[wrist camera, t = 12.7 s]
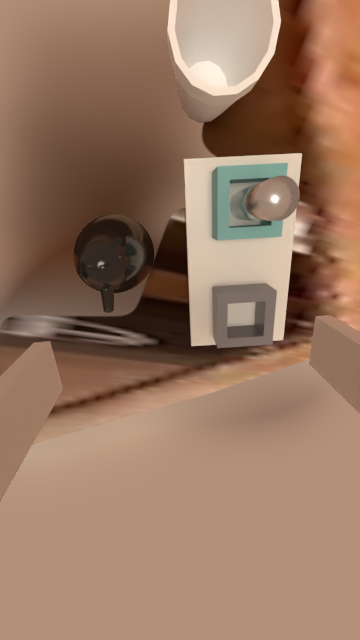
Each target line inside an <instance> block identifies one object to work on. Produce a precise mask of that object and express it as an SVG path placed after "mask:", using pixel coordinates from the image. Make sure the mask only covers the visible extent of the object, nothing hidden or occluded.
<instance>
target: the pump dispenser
mask: <svg viewBox="0 0 360 640" xmlns="http://www.w3.org/2000/svg"><path fill="white" fill-rule="evenodd" d="M153 260H154V248H153V243H152V240H151V238H150V236H149V234H148V232H147V231H146V230H145V228H144V227H143V226H142V225H141V224H140V223H139V222H137V221H136V220H134V219H132V218H130V217H128V216H125V215H121V214H106V215H102V216H99V217H97V218H95V219H94V220H92V221H91V222H89V223H88V224H87V225H86V226H85V227H84V228H83V229H82V231H81V232H80V233H79V235H78V237H77V239H76V243H75V247H74V251H73V261H74V266H75V269H76V271H77V273H78V275H79V277H80V278H81V279H82V280H83V281H84V282H85V283H86V284H87V285H88V286H90V287H92V288H93V289H96V290H98V291H101V295H102V302H103V309H104V311H105V312H112V311H113V307H114V306H113V303H114V293H120V292H124V291H127V290H130V289H132V288H133V287H135V286H137V285H138V284H139V283H141V281H143V280H144V279H145V278H146V276H147V275H148V273H149V272H150V270H151V267H152V264H153Z"/></svg>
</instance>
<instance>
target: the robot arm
mask: <svg viewBox="0 0 360 640" xmlns="http://www.w3.org/2000/svg"><path fill="white" fill-rule="evenodd" d="M310 365H311V366H312V367H313V368H314V369H315V370H316V371H317V372H318V373H319V374H320V375H321V376H322V377H323V378H324V379H325V380H326V381H327V382H328V383H329V384H330V385H331V386H332V387H333V388H334V389H335V390H336V391H337V392H338V393H339V394H340V395H341V396H342V397H343V398H344V399H345V400H346V401H347V402H348V403H350V405H352V406H353V407H354V408H355V409H356V410H357V411H358V412H359V413H360V332H359V331H357V330H355V329H353V328H352V327H350V326H348V325H347V324H345V323H343V322H341V321H340V320H338V319H336V318H334V317H333V316H331V315H326V316H315V324H314V332H313V340H312V348H311V356H310ZM62 390H63V386H62V382H61V379H60V375H59V372H58V368H57V365H56V361H55V357H54V354H53V350H52V347H51V343H50V341H47V342H36V343H33V344H32V345H31V346H30V347H29V348H28V349H27V350H26V351H25V352H24V353H23V354H22V355H21V356H20V357H19V358H18V359H17V360H16V361H15V362H14V363H13V364H12V365H11V366H10V367H9V368H8V369H7V370H6V371H5V372H4V373H3V374H2V375H1V376H0V501H1V499H2V497H3V496H4V494H5V492H6V490H7V488H8V487H9V485H10V483H11V481H12V480H13V478H14V476H15V474H16V472H17V471H18V469H19V467H20V465H21V463H22V461H23V460H24V458H25V456H26V455H27V453H28V451H29V449H30V447H31V446H32V444H33V442H34V440H35V438H36V437H37V435H38V433H39V431H40V430H41V428H42V426H43V424H44V422H45V421H46V419H47V417H48V415H49V413H50V412H51V410H52V408H53V406H54V404H55V403H56V401H57V399H58V397H59V396H60V394H61V392H62Z"/></svg>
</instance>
